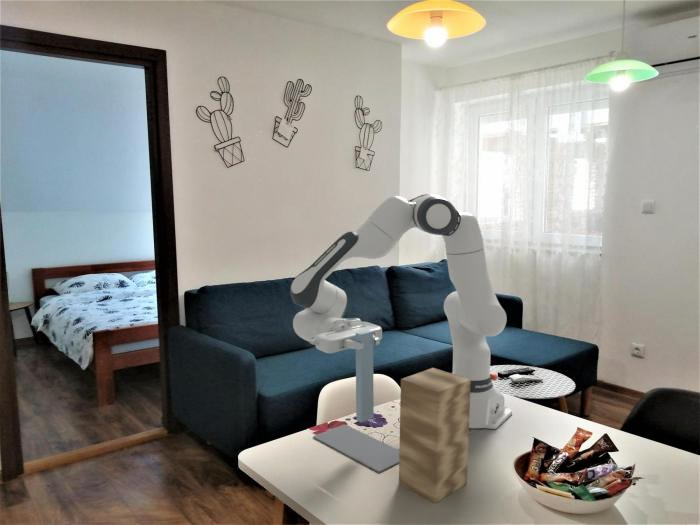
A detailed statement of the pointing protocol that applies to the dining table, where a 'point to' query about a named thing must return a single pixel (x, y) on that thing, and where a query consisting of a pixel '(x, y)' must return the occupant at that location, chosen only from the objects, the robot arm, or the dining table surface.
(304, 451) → the dining table surface
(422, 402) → the oak stand
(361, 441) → the mat
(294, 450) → the dining table surface
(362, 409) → the slat
